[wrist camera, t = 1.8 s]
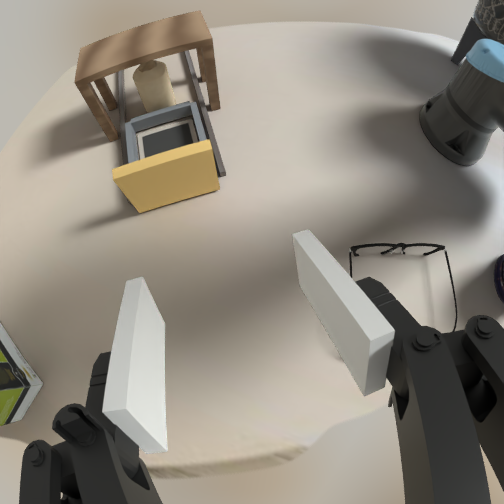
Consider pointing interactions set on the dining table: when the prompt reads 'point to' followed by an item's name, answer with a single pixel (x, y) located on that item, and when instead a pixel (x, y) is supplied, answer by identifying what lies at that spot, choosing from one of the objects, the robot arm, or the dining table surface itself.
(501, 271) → the dark blue cylinder
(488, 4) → the planter
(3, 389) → the tea box
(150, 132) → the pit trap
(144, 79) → the candle
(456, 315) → the eyeglasses
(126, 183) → the yellow panel grey frame
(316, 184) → the dining table surface
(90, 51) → the wooden stand with rails
